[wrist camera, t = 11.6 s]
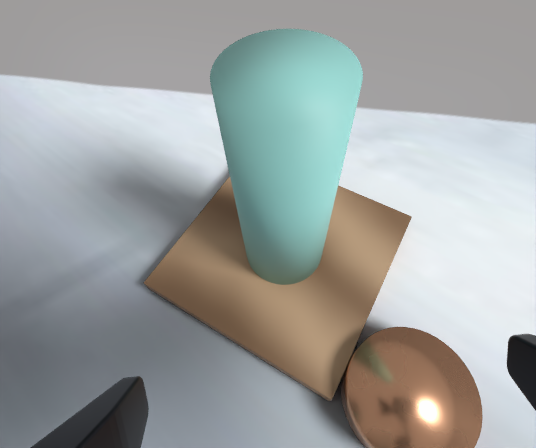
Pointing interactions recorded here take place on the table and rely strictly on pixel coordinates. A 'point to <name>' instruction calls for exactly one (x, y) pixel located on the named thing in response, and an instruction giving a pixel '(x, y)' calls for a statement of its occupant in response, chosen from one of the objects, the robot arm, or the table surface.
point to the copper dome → (410, 393)
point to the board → (285, 286)
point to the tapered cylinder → (285, 142)
